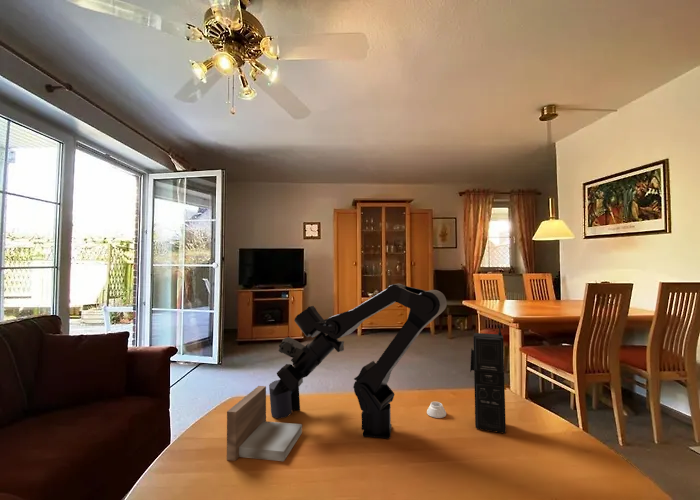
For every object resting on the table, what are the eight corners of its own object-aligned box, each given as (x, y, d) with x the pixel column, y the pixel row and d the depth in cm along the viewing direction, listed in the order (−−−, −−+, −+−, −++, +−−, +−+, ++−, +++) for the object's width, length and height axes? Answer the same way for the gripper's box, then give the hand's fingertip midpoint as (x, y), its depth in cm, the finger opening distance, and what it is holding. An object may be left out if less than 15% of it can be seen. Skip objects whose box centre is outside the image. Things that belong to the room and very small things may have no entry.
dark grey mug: (285, 404, 98) (284, 369, 97) (300, 410, 94) (299, 374, 94) (265, 417, 91) (264, 379, 91) (280, 423, 88) (279, 385, 87)
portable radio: (470, 429, 83) (468, 326, 84) (471, 418, 88) (469, 322, 89) (506, 435, 80) (503, 328, 81) (504, 423, 86) (502, 324, 86)
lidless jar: (434, 420, 88) (450, 417, 90) (434, 409, 88) (449, 406, 90) (423, 412, 93) (438, 409, 94) (423, 402, 93) (438, 399, 95)
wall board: (303, 429, 83) (303, 388, 84) (280, 465, 69) (280, 415, 69) (258, 425, 85) (258, 385, 86) (226, 459, 71) (226, 411, 71)
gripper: (307, 322, 101) (272, 358, 102) (284, 335, 83) (242, 378, 84) (333, 350, 99) (296, 386, 101) (316, 369, 81) (272, 413, 82)
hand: (278, 389), depth 92 cm, fingers open, 7 cm apart
